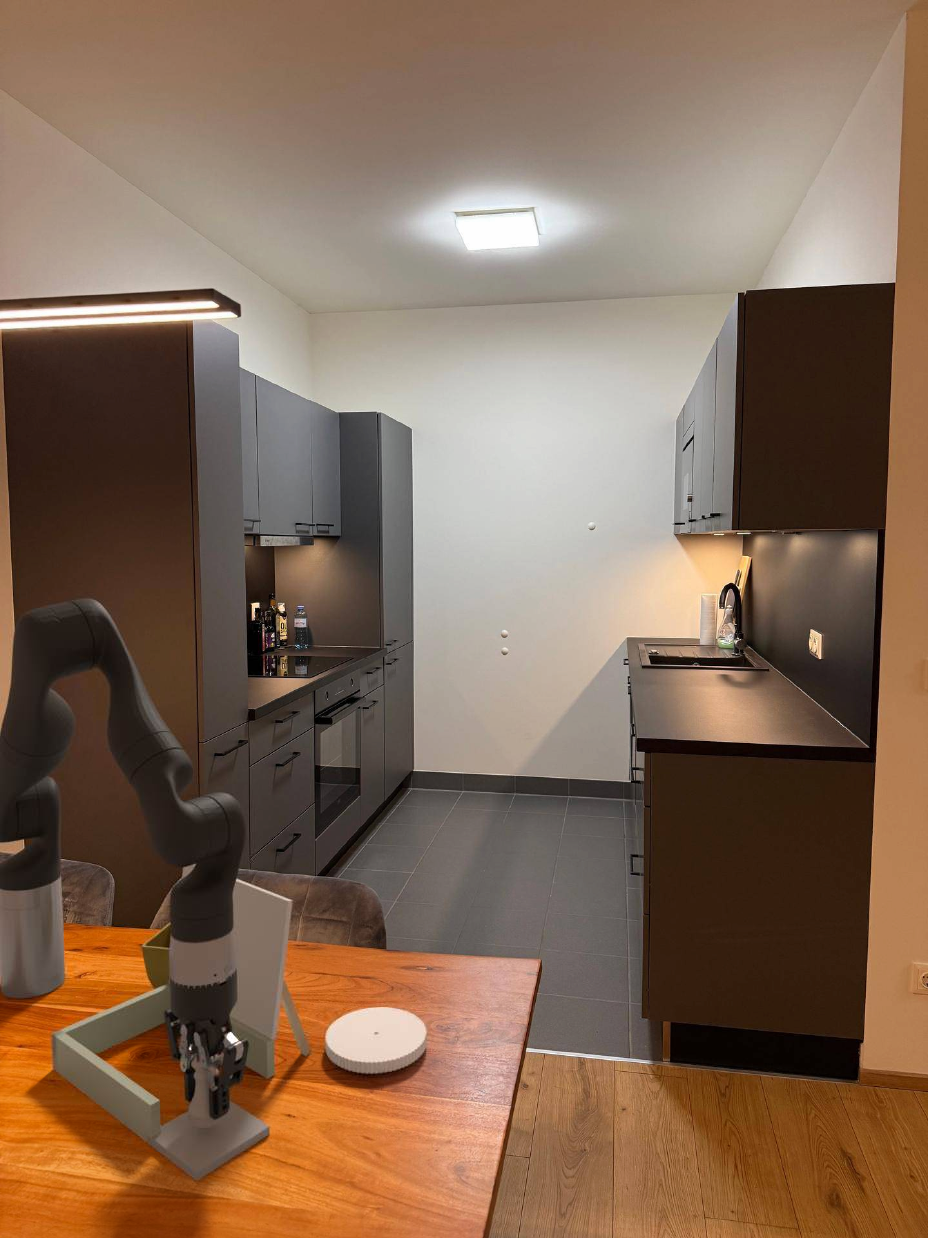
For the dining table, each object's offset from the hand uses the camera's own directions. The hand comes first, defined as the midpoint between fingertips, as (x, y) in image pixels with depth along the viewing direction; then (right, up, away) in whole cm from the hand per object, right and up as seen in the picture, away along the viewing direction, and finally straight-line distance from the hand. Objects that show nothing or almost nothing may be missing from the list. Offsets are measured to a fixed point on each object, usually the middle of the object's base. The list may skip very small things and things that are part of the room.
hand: (207, 1106), depth 104 cm
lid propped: (-3, +3, +21) cm, 22 cm away
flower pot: (-14, -1, +35) cm, 38 cm away
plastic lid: (+18, -3, +19) cm, 26 cm away
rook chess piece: (0, -2, 0) cm, 2 cm away
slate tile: (0, -4, 0) cm, 4 cm away
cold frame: (-8, -3, +16) cm, 18 cm away
